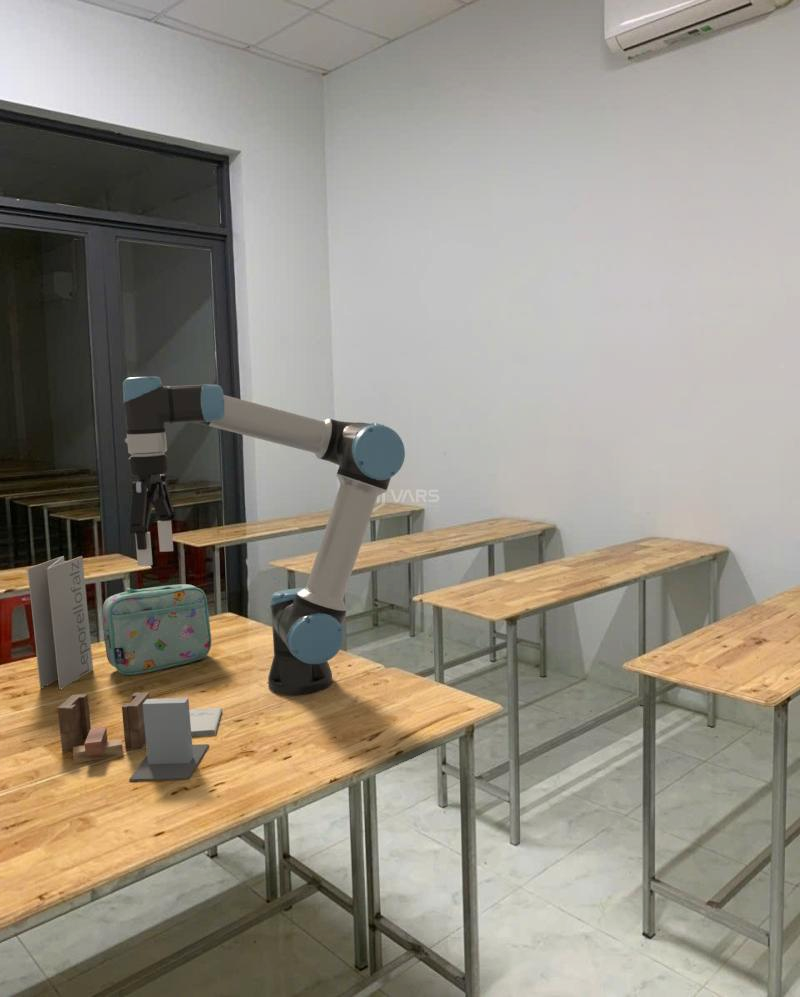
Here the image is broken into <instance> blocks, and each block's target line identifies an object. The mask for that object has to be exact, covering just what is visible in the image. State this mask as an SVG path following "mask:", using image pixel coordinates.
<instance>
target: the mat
mask: <svg viewBox="0 0 800 997" xmlns="http://www.w3.org/2000/svg"><path fill="white" fill-rule="evenodd" d="M209 747H210V745H209V744H207V743H206V744H205V743H204V744H203V743H201V744H198V743H197V744H192V750H193V758H192V760H191V762H190V763H175V764H148V759H147V755H146V756H145V757H144V759H143V760H142V761H141V763H140V764H139V766H138V767H136V769H135V771H134V772H133V773H132V775H131V776H130V777H129V779H128V780H129V782H144V781H145V782H149V781H151V782H152V781H157V782H158V781H184V780H185V781H188V780H189V781H190V779H191V777H192V776H193V773H194V772H195V770H196V769H197V767H198V765H199V764H200V762H201V760H202V758H203V757H204V755H205V754H206V751H207V750H208V748H209Z"/></svg>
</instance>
